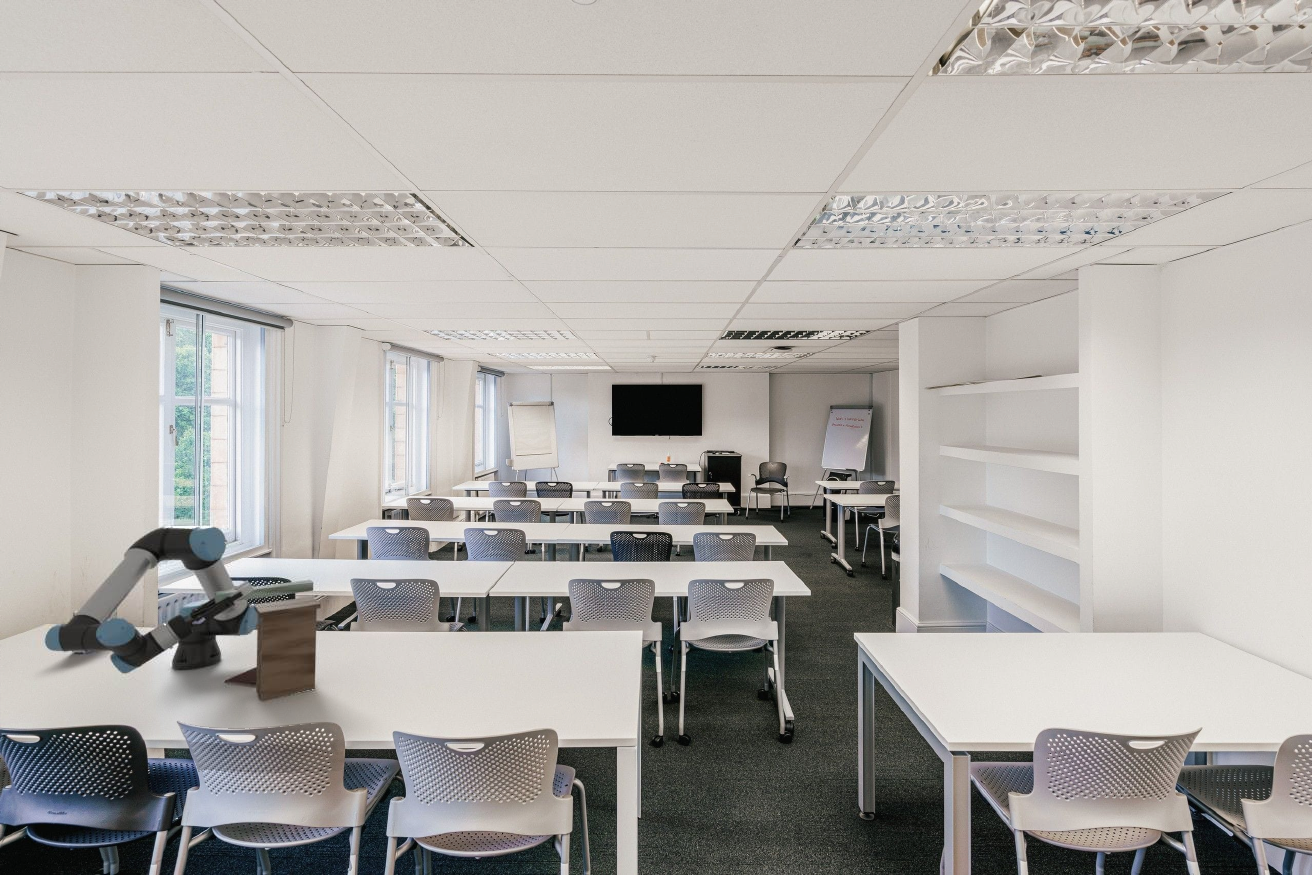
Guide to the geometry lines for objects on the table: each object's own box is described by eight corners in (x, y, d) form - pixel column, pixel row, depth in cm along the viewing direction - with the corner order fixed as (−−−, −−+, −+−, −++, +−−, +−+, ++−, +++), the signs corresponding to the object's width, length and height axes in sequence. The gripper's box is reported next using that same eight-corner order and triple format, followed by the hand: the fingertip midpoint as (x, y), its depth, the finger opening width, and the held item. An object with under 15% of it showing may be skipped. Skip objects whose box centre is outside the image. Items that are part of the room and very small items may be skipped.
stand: (252, 691, 213) (254, 604, 213) (310, 678, 225) (312, 596, 225) (258, 703, 204) (260, 612, 204) (318, 689, 216) (320, 603, 216)
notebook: (224, 684, 219) (224, 678, 219) (269, 664, 239) (270, 659, 239) (259, 689, 216) (260, 683, 216) (303, 668, 236) (303, 663, 236)
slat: (214, 600, 202) (214, 591, 202) (310, 588, 220) (310, 579, 220) (216, 603, 199) (216, 594, 199) (313, 590, 217) (313, 582, 217)
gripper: (178, 633, 201) (253, 588, 215) (183, 648, 188) (261, 599, 202) (164, 615, 199) (240, 571, 212) (167, 629, 186) (248, 581, 199)
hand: (250, 585), depth 207 cm, fingers closed on slat, 4 cm apart
